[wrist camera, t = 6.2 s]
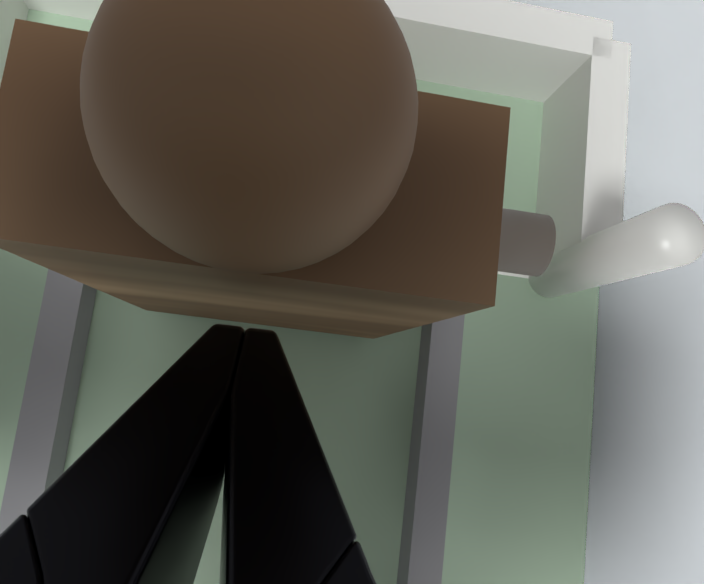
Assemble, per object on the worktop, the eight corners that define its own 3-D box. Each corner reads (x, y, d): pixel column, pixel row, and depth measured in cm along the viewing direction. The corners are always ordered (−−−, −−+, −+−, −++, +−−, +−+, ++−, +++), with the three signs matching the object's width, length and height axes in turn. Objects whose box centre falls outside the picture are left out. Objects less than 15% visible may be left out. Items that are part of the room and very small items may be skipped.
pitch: (549, 957, 14) (585, 1034, 12) (-268, 963, 12) (-354, 1057, 10) (599, 69, 17) (632, 39, 16) (-28, -52, 15) (-63, -100, 13)
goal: (567, 300, 15) (705, 270, 10) (-65, 212, 14) (-262, 124, 9) (581, 77, 16) (713, -48, 11) (-8, -34, 14) (-155, -242, 10)
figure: (418, 352, 14) (814, 317, 4) (93, 312, 13) (-577, 117, 3) (431, 220, 15) (813, -136, 4) (119, 172, 14) (-372, -431, 3)
